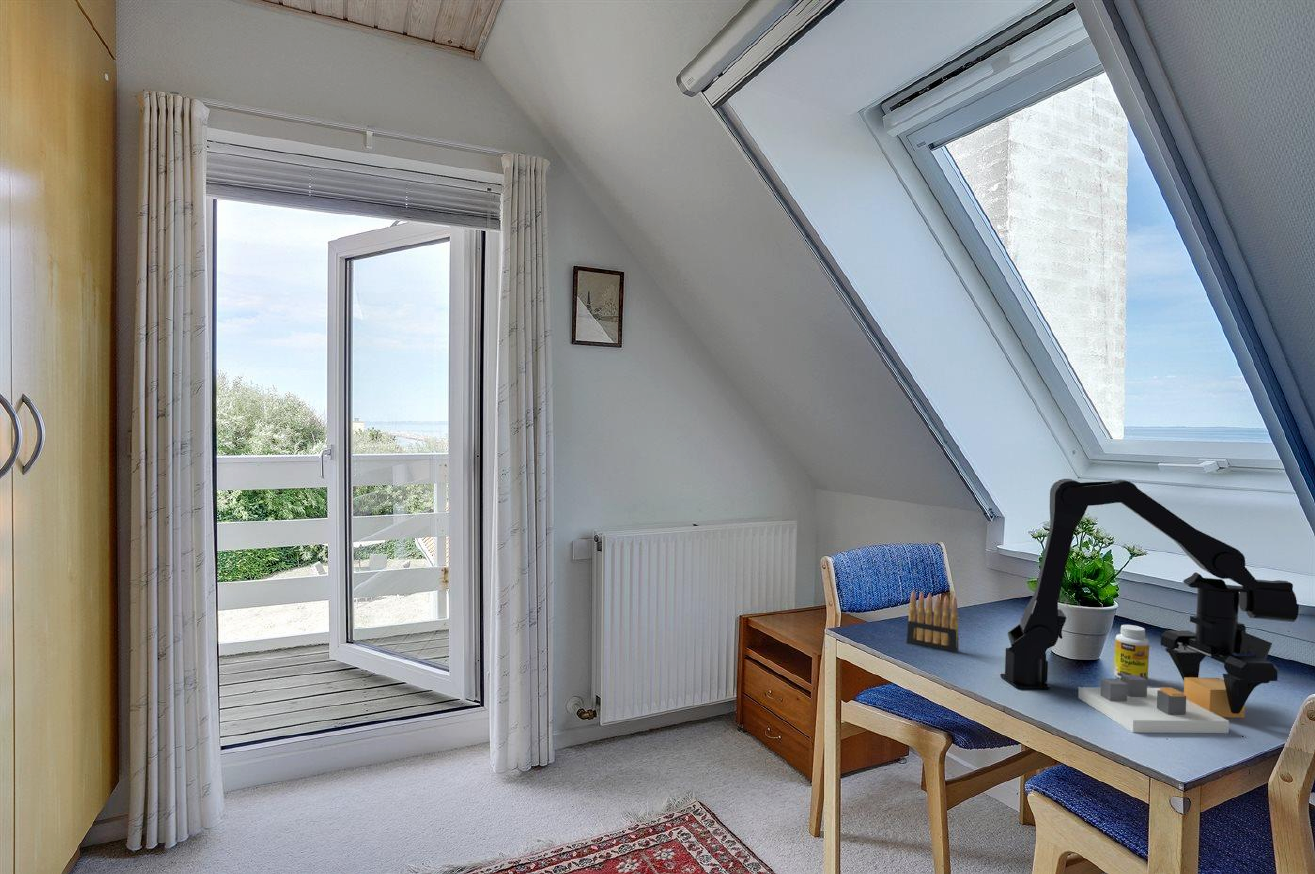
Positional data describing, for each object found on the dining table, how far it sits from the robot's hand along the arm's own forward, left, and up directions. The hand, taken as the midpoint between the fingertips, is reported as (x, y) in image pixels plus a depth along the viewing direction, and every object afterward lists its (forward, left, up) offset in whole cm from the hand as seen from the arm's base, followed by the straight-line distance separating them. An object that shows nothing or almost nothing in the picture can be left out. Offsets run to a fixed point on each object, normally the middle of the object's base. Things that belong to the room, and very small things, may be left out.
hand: (1213, 702), depth 124 cm
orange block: (0, 0, -1) cm, 1 cm away
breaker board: (-13, -2, -1) cm, 13 cm away
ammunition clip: (-36, +33, -2) cm, 49 cm away
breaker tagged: (-12, -5, +1) cm, 13 cm away
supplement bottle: (-4, +15, -2) cm, 16 cm away
